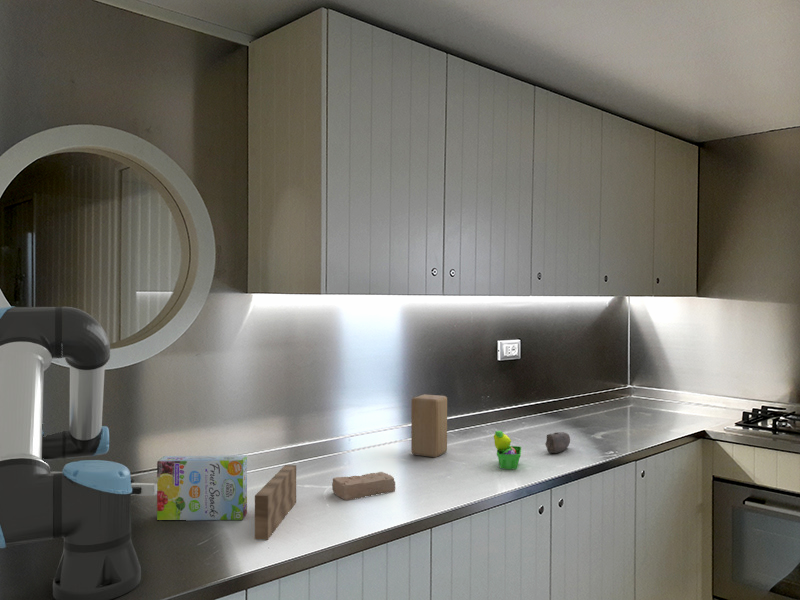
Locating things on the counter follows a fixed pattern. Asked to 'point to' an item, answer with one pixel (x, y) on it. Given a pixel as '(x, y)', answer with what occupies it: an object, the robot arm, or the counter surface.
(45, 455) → the robot arm
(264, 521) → the walnut board
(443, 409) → the block
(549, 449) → the perforated stone tool
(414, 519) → the counter surface
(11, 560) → the counter surface
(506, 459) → the fruit basket
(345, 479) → the brick
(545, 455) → the counter surface
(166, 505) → the snack box
